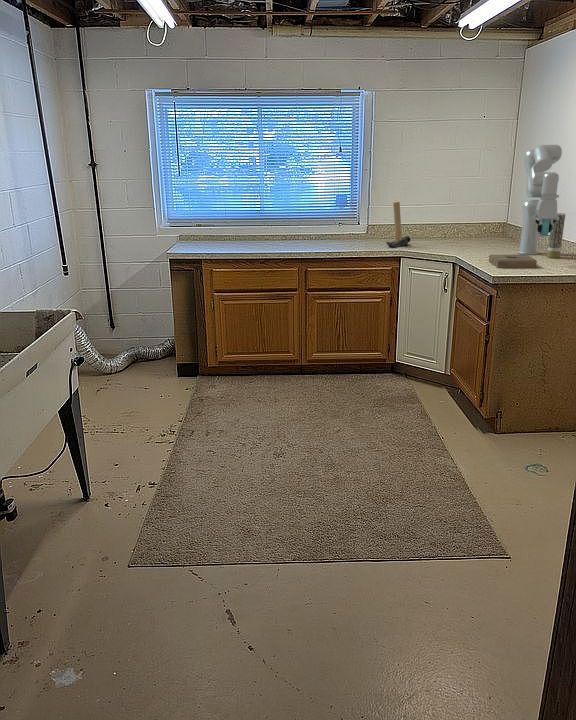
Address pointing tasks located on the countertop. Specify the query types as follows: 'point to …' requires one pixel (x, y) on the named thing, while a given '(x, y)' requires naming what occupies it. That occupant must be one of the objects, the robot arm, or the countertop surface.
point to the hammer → (398, 228)
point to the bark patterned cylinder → (556, 237)
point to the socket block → (512, 261)
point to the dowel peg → (545, 227)
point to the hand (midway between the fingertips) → (544, 231)
